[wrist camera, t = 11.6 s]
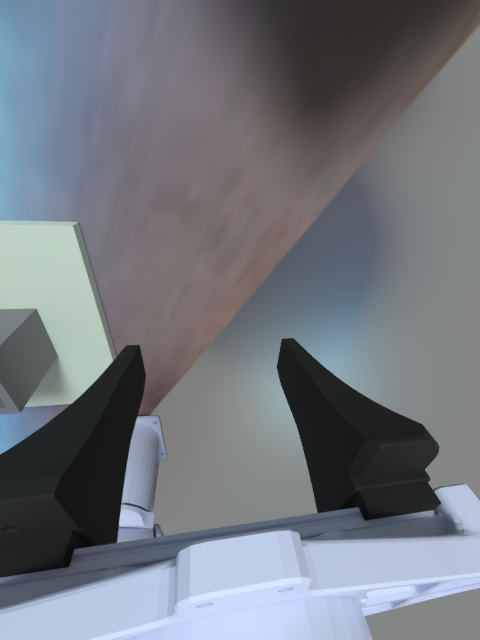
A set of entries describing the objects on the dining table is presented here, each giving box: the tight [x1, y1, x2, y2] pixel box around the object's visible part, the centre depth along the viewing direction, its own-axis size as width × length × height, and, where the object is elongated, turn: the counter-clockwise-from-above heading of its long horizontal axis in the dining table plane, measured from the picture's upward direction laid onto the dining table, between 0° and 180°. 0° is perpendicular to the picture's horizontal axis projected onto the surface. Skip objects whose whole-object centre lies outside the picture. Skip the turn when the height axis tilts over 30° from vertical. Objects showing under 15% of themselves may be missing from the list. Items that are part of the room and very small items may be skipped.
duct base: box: [0, 220, 117, 407], centre depth 21 cm, size 18×14×4 cm
